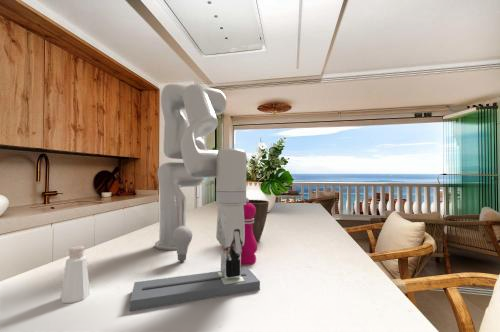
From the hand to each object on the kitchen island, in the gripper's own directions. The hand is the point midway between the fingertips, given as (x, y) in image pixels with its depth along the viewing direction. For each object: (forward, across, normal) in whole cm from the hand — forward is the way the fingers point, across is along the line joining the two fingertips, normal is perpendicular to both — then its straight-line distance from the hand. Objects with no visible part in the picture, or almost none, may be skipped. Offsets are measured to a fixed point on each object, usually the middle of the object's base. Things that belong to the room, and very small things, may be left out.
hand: (230, 271), depth 61 cm
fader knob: (+1, 0, 0) cm, 1 cm away
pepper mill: (+3, -14, +9) cm, 17 cm away
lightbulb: (+3, -20, -10) cm, 23 cm away
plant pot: (+3, -38, +19) cm, 42 cm away
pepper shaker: (+3, -6, -34) cm, 35 cm away
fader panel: (+3, 0, -8) cm, 9 cm away
